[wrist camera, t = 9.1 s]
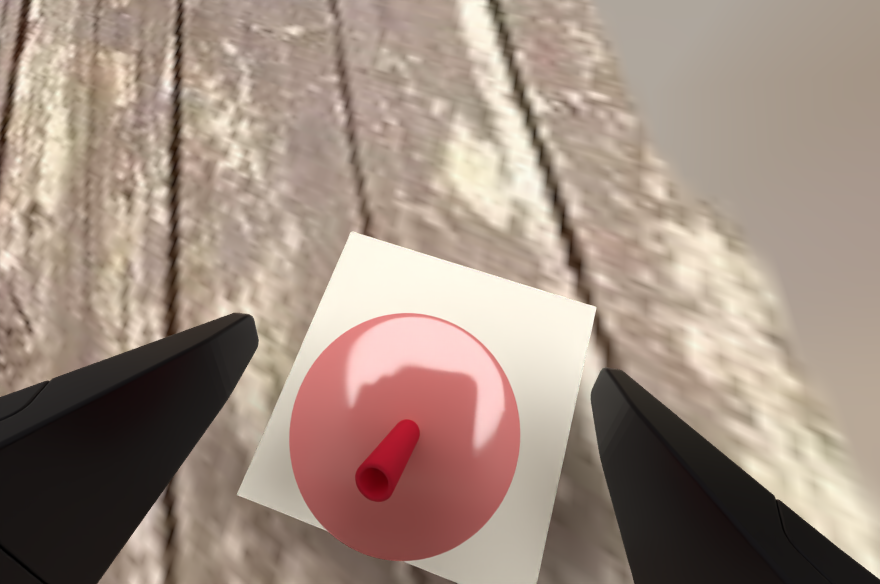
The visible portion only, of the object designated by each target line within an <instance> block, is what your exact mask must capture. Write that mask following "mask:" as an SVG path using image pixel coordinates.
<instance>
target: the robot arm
mask: <svg viewBox="0 0 880 584" xmlns="http://www.w3.org/2000/svg"><path fill="white" fill-rule="evenodd" d="M258 342H259V340H258V335H257V330H256V326H255V321H254V318H253V317H252V316H251V315H249V314H243V313H232V314H230V315H227V316H224V317H221V318H218V319H216V320H213V321H210V322H207V323H205V324H202V325H199V326H196V327H194V328H191V329H188V330H185V331H183V332H180V333H177V334H174V335H171V336H169V337H166V338H163V339H160V340H158V341H155V342H152V343H149V344H147V345H144V346H141V347H138V348H136V349H133V350H130V351H127V352H124V353H122V354H119V355H116V356H113V357H111V358H108V359H105V360H102V361H100V362H97V363H94V364H91V365H89V366H86V367H83V368H80V369H78V370H75V371H72V372H69V373H66V374H64V375H61V376H58V377H55V378H53V379H52V380H51V381H44V382H41V383H39V384H36V385H33V386H30V387H28V388H25V389H22V390H19V391H16V392H13V393H11V394H8V395H5V396H2V397H0V584H97V583H98V582H99V580H100V579H101V578H102V576H103V575H104V573H105V572H106V571H107V569H108V568H109V566H110V565H111V564H112V562H113V561H114V559H115V558H116V557H117V555H118V554H119V552H120V551H121V549H122V548H123V547H124V545H125V544H126V542H127V541H128V540H129V538H130V537H131V535H132V534H133V533H134V531H135V530H136V528H137V527H138V526H139V524H140V523H141V521H142V520H143V518H144V517H145V516H146V514H147V513H148V511H149V510H150V509H151V507H152V506H153V504H154V503H155V502H156V500H157V499H158V497H159V496H160V495H161V493H162V492H163V490H164V489H165V487H166V486H167V485H168V483H169V482H170V480H171V479H172V478H173V476H174V475H175V473H176V472H177V471H178V469H179V468H180V466H181V465H182V464H183V462H184V461H185V459H186V458H187V456H188V455H189V454H190V452H191V451H192V449H193V448H194V447H195V445H196V444H197V442H198V441H199V440H200V438H201V437H202V435H203V434H204V433H205V431H206V430H207V428H208V427H209V425H210V424H211V423H212V421H213V420H214V418H215V417H216V416H217V414H218V413H219V411H220V410H221V409H222V407H223V406H224V404H225V403H226V401H227V400H228V398H229V397H230V395H231V393H232V392H233V390H234V388H235V386H236V385H237V383H238V381H239V379H240V378H241V376H242V374H243V372H244V371H245V369H246V367H247V365H248V364H249V362H250V360H251V358H252V356H253V355H254V353H255V351H256V349H257V347H258ZM591 405H592V411H593V418H594V424H595V430H596V436H597V443H598V449H599V454H600V459H601V463H602V467H603V471H604V475H605V478H606V482H607V486H608V489H609V493H610V496H611V500H612V504H613V507H614V511H615V515H616V518H617V522H618V526H619V529H620V533H621V536H622V540H623V544H624V547H625V551H626V555H627V558H628V562H629V565H630V569H631V573H632V576H633V580H634V584H880V579H878V578H877V577H876V576H875V575H873V574H872V573H871V572H869V571H868V570H867V569H865V568H864V567H863V566H862V565H860V564H859V563H858V562H856V561H855V560H854V559H852V558H851V557H850V556H849V555H847V554H846V553H845V552H843V551H842V550H841V549H839V548H838V547H837V546H836V545H834V544H833V543H832V542H831V541H830V540H828V539H827V538H826V537H825V536H823V535H822V534H821V533H820V532H818V531H817V530H816V529H815V528H813V527H812V526H811V525H810V524H808V523H807V522H806V521H805V520H803V519H802V518H801V517H800V516H799V515H797V514H796V513H795V512H794V511H792V510H791V509H790V508H789V507H788V506H786V505H785V504H784V503H783V502H782V501H780V500H778V499H775V496H774V495H773V494H772V493H771V492H769V491H768V490H767V489H766V488H764V487H763V486H762V485H761V484H760V483H758V482H757V481H756V480H755V479H754V478H752V477H751V476H750V475H749V474H747V473H746V472H745V471H744V470H743V469H741V468H740V467H739V466H738V465H736V464H735V463H734V462H733V461H732V460H730V459H729V458H728V457H727V456H726V455H724V454H723V453H722V452H721V451H719V450H718V449H717V448H716V447H715V446H713V445H712V444H711V443H710V442H709V441H707V440H706V439H705V438H704V437H702V436H701V435H700V434H699V433H698V432H696V431H695V430H694V429H693V428H692V427H690V426H689V425H688V424H687V423H685V422H684V421H683V420H682V419H681V418H679V417H678V416H677V415H676V414H675V413H673V412H672V411H671V410H670V409H668V408H667V407H666V406H665V405H664V404H662V403H661V402H660V401H659V400H657V399H656V398H655V397H654V396H653V395H651V394H650V393H649V392H648V391H647V390H645V389H644V388H643V387H642V386H640V385H639V384H638V383H637V382H636V381H634V380H633V379H632V378H631V377H630V376H628V375H627V374H626V373H625V372H623V371H622V370H620V369H614V368H607V367H606V368H603V369H602V370H601V371H600V373H599V375H598V378H597V380H596V382H595V384H594V386H593V388H592V391H591Z"/></svg>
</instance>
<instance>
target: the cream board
mask: <svg viewBox="0 0 880 584" xmlns="http://www.w3.org/2000/svg"><path fill="white" fill-rule="evenodd" d="M595 312H596V307H594V306H591V305H588V304H585V303H581V302H578V301H575V300H572V299H568V298H565V297H562V296H559V295H556V294H552V293H549V292H546V291H543V290H539V289H536V288H533V287H530V286H526V285H523V284H520V283H517V282H513V281H510V280H507V279H504V278H501V277H497V276H494V275H491V274H488V273H484V272H481V271H478V270H475V269H471V268H468V267H465V266H462V265H458V264H455V263H452V262H449V261H446V260H442V259H439V258H436V257H433V256H429V255H426V254H423V253H420V252H416V251H413V250H410V249H407V248H403V247H400V246H397V245H394V244H391V243H387V242H384V241H381V240H378V239H374V238H371V237H368V236H365V235H361V234H358V233H355V232H352V231H351V233H350V236H349V238H348V240H347V243H346V245H345V247H344V249H343V252H342V254H341V256H340V259H339V261H338V263H337V265H336V268H335V270H334V272H333V275H332V277H331V279H330V282H329V284H328V286H327V288H326V291H325V293H324V295H323V298H322V300H321V302H320V305H319V307H318V309H317V311H316V314H315V316H314V318H313V321H312V323H311V325H310V328H309V330H308V332H307V334H306V337H305V339H304V341H303V344H302V346H301V348H300V351H299V353H298V355H297V357H296V360H295V362H294V364H293V367H292V369H291V371H290V374H289V376H288V378H287V380H286V383H285V385H284V387H283V390H282V392H281V394H280V397H279V399H278V401H277V403H276V406H275V408H274V410H273V413H272V415H271V417H270V420H269V422H268V424H267V426H266V429H265V431H264V433H263V436H262V438H261V440H260V443H259V445H258V447H257V449H256V452H255V454H254V456H253V459H252V461H251V463H250V466H249V468H248V470H247V472H246V475H245V477H244V479H243V482H242V484H241V486H240V488H239V491H238V493H237V495H238V496H241V497H243V498H246V499H248V500H251V501H253V502H256V503H258V504H261V505H263V506H266V507H268V508H271V509H273V510H276V511H278V512H281V513H283V514H286V515H288V516H291V517H293V518H296V519H298V520H301V521H303V522H306V523H308V524H311V525H313V526H316V527H318V528H321V529H323V530H326V529H325V528H324V527H323V526H322V525H321V524H320V523H319V521H318V520H317V519H316V518H315V516H314V515H313V514H312V512H311V511H310V509H309V508H308V506H307V504H306V503H305V501H304V499H303V497H302V495H301V493H300V490H299V488H298V485H297V483H296V480H295V476H294V473H293V469H292V464H291V458H290V447H289V432H290V422H291V415H292V410H293V406H294V403H295V399H296V396H297V394H298V391H299V388H300V386H301V384H302V382H303V380H304V378H305V376H306V374H307V372H308V371H309V369H310V368H311V366H312V365H313V363H314V362H315V360H316V359H317V358H318V357H319V355H320V354H321V353H322V352H323V351H324V350H325V349H326V348H327V347H328V346H329V345H330V344H331V343H332V342H333V341H334V340H335V339H337V338H338V337H339V336H340V335H342V334H343V333H345V332H346V331H348V330H349V329H351V328H353V327H355V326H357V325H359V324H361V323H363V322H365V321H368V320H370V319H373V318H376V317H380V316H384V315H390V314H397V313H417V314H425V315H430V316H434V317H438V318H441V319H444V320H446V321H449V322H451V323H453V324H455V325H457V326H459V327H461V328H463V329H464V330H466V331H467V332H469V333H470V334H472V335H473V336H474V337H476V338H477V339H478V340H479V341H480V342H481V343H482V344H483V345H484V346H485V347H486V348H487V349H488V350H489V351H490V352H491V353H492V354H493V356H494V357H495V358H496V360H497V361H498V363H499V364H500V366H501V367H502V369H503V371H504V372H505V374H506V376H507V378H508V380H509V382H510V385H511V387H512V390H513V393H514V396H515V399H516V403H517V408H518V413H519V420H520V449H519V456H518V461H517V466H516V470H515V473H514V476H513V479H512V482H511V485H510V487H509V489H508V491H507V493H506V495H505V497H504V499H503V501H502V503H501V504H500V506H499V507H498V509H497V510H496V512H495V513H494V514H493V516H492V517H491V518H490V519H489V521H488V522H487V523H486V524H485V525H484V526H483V527H482V528H481V529H480V530H479V531H478V532H477V533H475V534H474V535H473V536H472V537H470V538H469V539H468V540H466V541H465V542H463V543H462V544H460V545H459V546H457V547H455V548H453V549H451V550H449V551H447V552H445V553H442V554H439V555H437V556H433V557H430V558H426V559H420V560H413V561H403V562H406V563H408V564H411V565H413V566H416V567H418V568H421V569H423V570H426V571H428V572H431V573H433V574H436V575H438V576H441V577H443V578H446V579H448V580H451V581H453V582H456V583H458V584H537V579H538V575H539V570H540V566H541V561H542V556H543V552H544V547H545V543H546V538H547V533H548V529H549V524H550V519H551V515H552V510H553V506H554V501H555V496H556V492H557V487H558V483H559V478H560V473H561V469H562V464H563V459H564V455H565V450H566V446H567V441H568V436H569V432H570V427H571V423H572V418H573V413H574V409H575V404H576V399H577V395H578V390H579V386H580V381H581V376H582V372H583V367H584V363H585V358H586V353H587V349H588V344H589V339H590V335H591V330H592V326H593V321H594V316H595ZM326 531H327V530H326Z"/></svg>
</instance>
